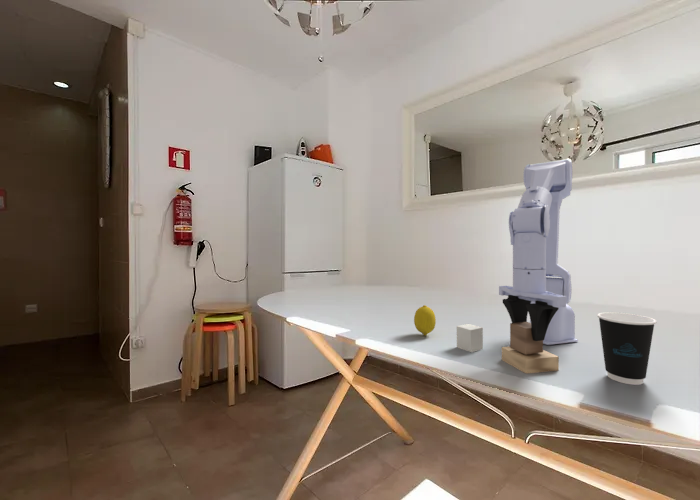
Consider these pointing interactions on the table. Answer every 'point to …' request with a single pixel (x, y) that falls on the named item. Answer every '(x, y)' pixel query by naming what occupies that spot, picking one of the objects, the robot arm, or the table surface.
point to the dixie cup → (626, 345)
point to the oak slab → (530, 361)
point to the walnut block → (524, 339)
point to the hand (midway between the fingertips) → (528, 336)
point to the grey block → (469, 337)
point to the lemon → (424, 320)
